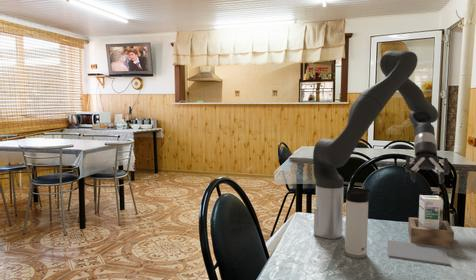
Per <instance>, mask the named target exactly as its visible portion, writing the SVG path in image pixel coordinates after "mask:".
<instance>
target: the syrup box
mask: <svg viewBox="0 0 476 280" xmlns="http://www.w3.org/2000/svg"><path fill="white" fill-rule="evenodd" d="M418 203H419V205H418V206H419V207H418V218H419V227H421V228H430V229H439V230H442V221H443V215H444V214H443V213H444V199H443V198H442V197H441V196H439V195H428V194H427V195H423V194H419V201H418Z"/></svg>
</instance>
